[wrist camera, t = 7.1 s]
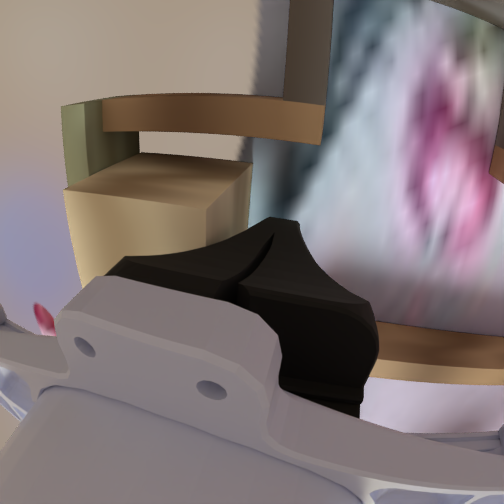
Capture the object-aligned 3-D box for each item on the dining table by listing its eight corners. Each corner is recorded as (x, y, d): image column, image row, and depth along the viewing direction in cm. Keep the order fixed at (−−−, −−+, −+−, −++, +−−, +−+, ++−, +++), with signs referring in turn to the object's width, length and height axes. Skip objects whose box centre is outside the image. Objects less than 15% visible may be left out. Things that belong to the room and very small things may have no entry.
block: (253, 163, 12) (206, 209, 8) (244, 271, 15) (206, 348, 10) (141, 152, 13) (63, 189, 9) (147, 251, 16) (89, 311, 11)
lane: (601, 69, 5) (646, 78, 2) (464, 414, 16) (470, 455, 13) (124, -28, 9) (72, -45, 6) (150, 363, 20) (127, 401, 17)
